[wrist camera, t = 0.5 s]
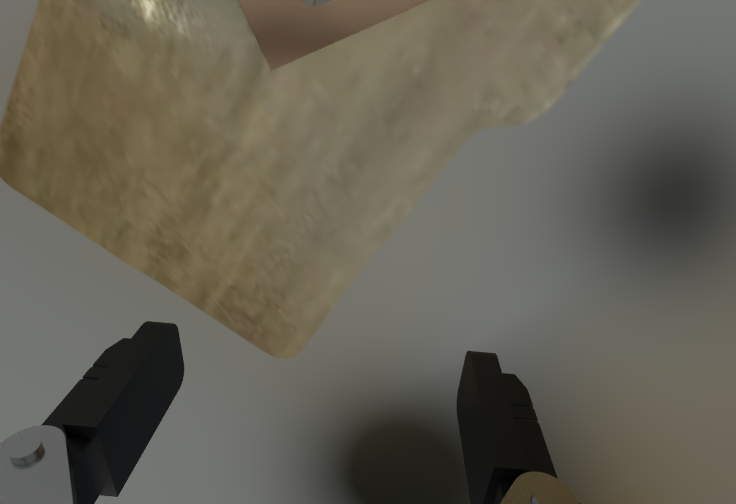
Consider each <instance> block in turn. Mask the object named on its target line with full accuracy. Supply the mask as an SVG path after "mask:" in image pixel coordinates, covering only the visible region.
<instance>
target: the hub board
mask: <svg viewBox="0 0 736 504" xmlns="http://www.w3.org/2000/svg"><path fill="white" fill-rule="evenodd" d="M427 1H429V0H239V2H240V4H241V6H242V9H243V11H244V13H245V15H246V17H247V19H248V21H249V23H250V26H251V28H252V30H253V32H254V34H255V36H256V38H257V41H258V43H259V45H260V47H261V49H262V51H263V53H264V56H265V58H266V60H267V62H268V64H269V66H270V68H271V70H273V69H276V68H278V67H280V66H282V65H285V64H287V63H289V62H291V61H294V60H296V59H298V58H300V57H303V56H305V55H307V54H309V53H312V52H314V51H316V50H319V49H321V48H323V47H325V46H328V45H330V44H332V43H334V42H337V41H339V40H341V39H343V38H346V37H348V36H350V35H352V34H355V33H357V32H359V31H362V30H364V29H366V28H368V27H371V26H373V25H375V24H377V23H380V22H382V21H384V20H386V19H389V18H391V17H393V16H395V15H398V14H400V13H402V12H405V11H407V10H409V9H411V8H414V7H416V6H418V5H420V4H423V3H425V2H427Z"/></svg>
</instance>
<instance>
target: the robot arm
mask: <svg viewBox="0 0 736 504" xmlns="http://www.w3.org/2000/svg"><path fill="white" fill-rule="evenodd" d="M183 376H184V362H183V356H182V350H181V343H180V338H179V331H178V327H177V326H176V324H172V323H161V322H150V321H147V322H145V323H144V324H143V325H142V326H141V327H140V328H139V330H138V331H137V332H136V333H135V334H134V336H133V337H132V338H131V339H128V338H123V339H122V340H120V341H119V342H117V343H116V344H114V345H113V346H111V347H109V348H108V349H106V350H105V351H104V353H103V354H102V355H101V356H100V357H99V358H98V360H97V361H96V362H95V363H94V364H93V367H91V368H90V369H89V370H88V371H87V372H86V374H85V375H84V376H83V379H82V380H80V381H79V382H78V383H77V384H76V385H75V386H74V388H73V389H72V390H71V391H70V392H69V393H68V395H67V396H66V397H65V398H64V399H63V401H62V402H61V403H60V404H59V405H58V406H57V407H56V409H55V410H54V411H53V412H52V413H51V415H50V416H49V417H48V418H47V419H46V420H45V422H44V423H43V424H42V425H41V426H35V427H31V428H27V429H24V430H22V431H20V432H17V433H15V434H13V435H12V436H10V437H8V438H7V439H5V440H4V441H3V442H1V443H0V504H94V503H95V501H96V500H97V498H98V496H99V495H104V496H115V497H118V495H119V493H120V492H121V490H122V488H123V487H124V485H125V483H126V481H127V480H128V478H129V476H130V474H131V473H132V471H133V469H134V467H135V466H136V464H137V462H138V460H139V459H140V457H141V455H142V453H143V452H144V450H145V448H146V446H147V445H148V443H149V441H150V439H151V438H152V436H153V434H154V432H155V431H156V429H157V427H158V425H159V424H160V422H161V420H162V418H163V417H164V415H165V413H166V411H167V410H168V408H169V406H170V404H171V403H172V401H173V399H174V397H175V395H176V394H177V392H178V390H179V389H180V386H181V384H182V381H183ZM457 418H458V424H459V432H460V439H461V446H462V453H463V460H464V466H465V473H466V480H467V487H468V494H469V501H470V504H580V503H579V502H578V500H577V498H576V496H575V495H574V493H573V492H572V491H571V490H570V489H569V488H568V487H567V486H566V485H565V484H564V483H563V482H561V481H560V480H558V478H557V475H556V473H555V470H554V467H553V464H552V461H551V458H550V455H549V452H548V449H547V446H546V443H545V440H544V437H543V434H542V431H541V428H540V425H539V423H538V422H537V420H538V419H537V416H536V413H535V410H534V409H533V405H532V402H531V399H530V396H529V393H528V390H527V389H526V387H525V386H524V385H523V384H522V382H521V381H520V380H519V379H518V378H517V376H516V375H514V374H505V373H502V372H501V368H500V365H499V361H498V358H497V355H496V354H495V353H486V352H474V351H467V353H466V356H465V361H464V365H463V370H462V375H461V379H460V384H459V388H458V394H457Z"/></svg>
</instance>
